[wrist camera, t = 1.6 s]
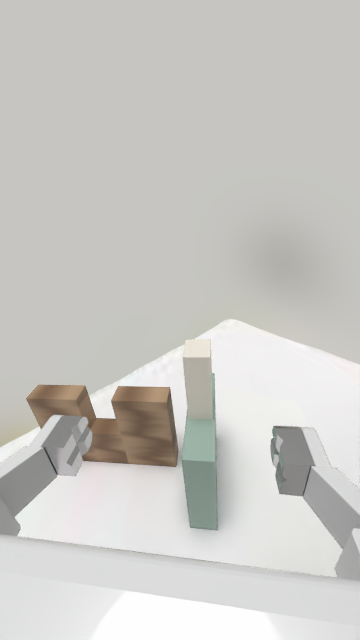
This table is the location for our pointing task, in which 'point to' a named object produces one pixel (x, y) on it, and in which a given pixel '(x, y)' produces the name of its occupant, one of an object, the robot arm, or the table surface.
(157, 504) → the table surface
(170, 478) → the table surface
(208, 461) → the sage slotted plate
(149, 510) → the table surface
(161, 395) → the walnut slotted board
